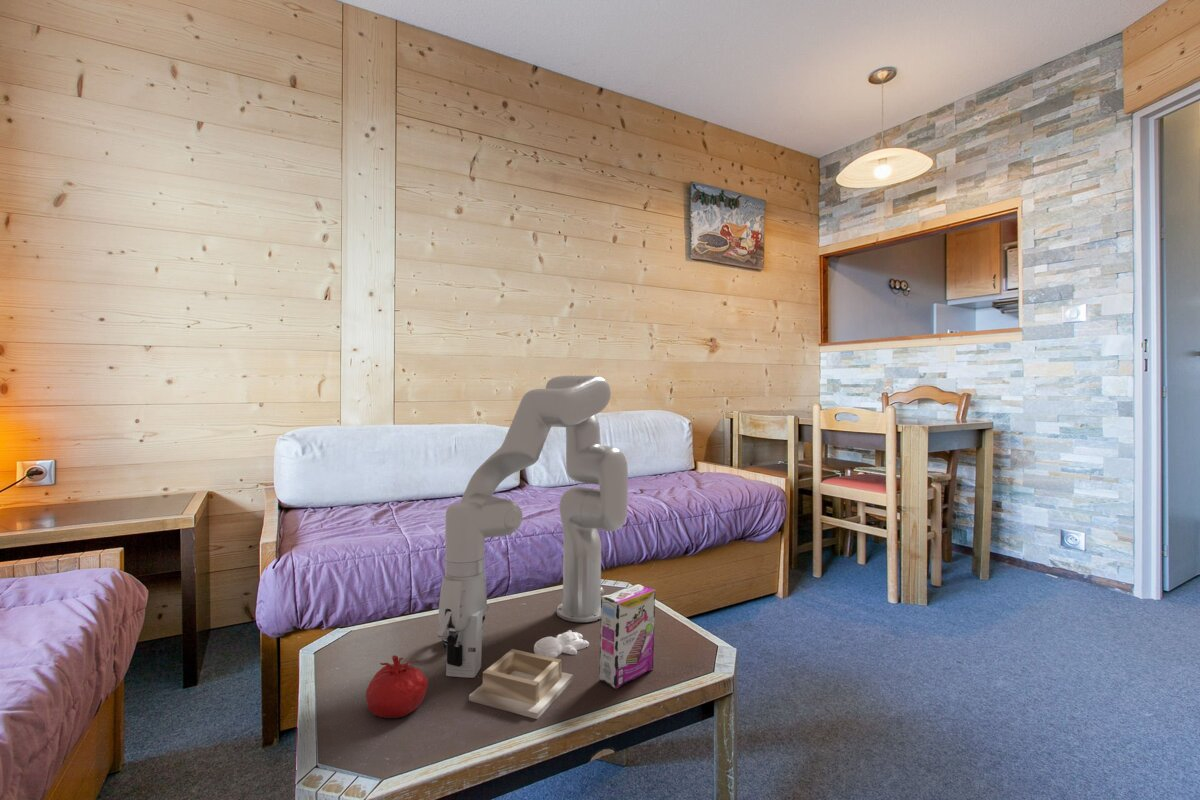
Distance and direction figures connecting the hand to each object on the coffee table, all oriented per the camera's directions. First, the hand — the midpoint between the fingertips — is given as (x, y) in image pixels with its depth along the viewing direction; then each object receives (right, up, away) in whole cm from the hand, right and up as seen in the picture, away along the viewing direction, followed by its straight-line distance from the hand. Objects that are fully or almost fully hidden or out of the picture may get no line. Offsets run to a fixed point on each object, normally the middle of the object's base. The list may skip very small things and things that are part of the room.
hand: (464, 656), depth 109 cm
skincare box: (0, -3, 0) cm, 3 cm away
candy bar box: (+32, -4, -1) cm, 32 cm away
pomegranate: (-9, -3, -13) cm, 16 cm away
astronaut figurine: (+19, -4, +11) cm, 22 cm away
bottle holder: (+13, -3, -6) cm, 14 cm away
